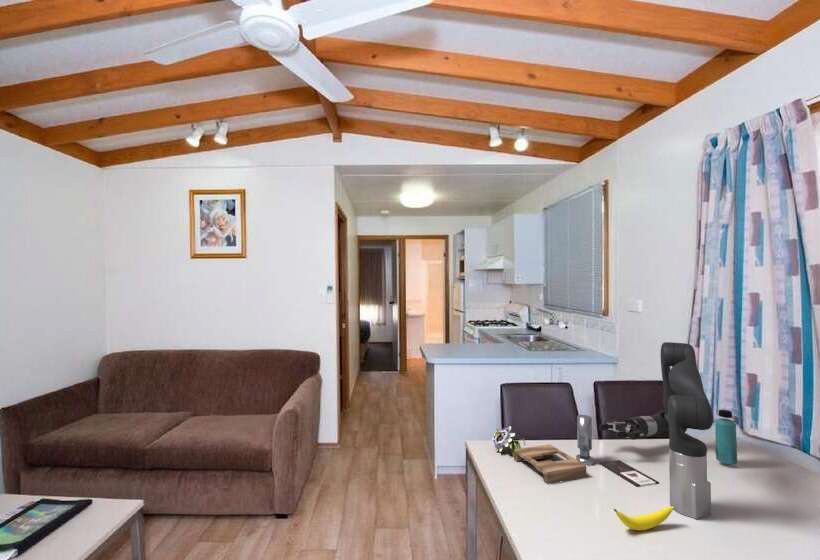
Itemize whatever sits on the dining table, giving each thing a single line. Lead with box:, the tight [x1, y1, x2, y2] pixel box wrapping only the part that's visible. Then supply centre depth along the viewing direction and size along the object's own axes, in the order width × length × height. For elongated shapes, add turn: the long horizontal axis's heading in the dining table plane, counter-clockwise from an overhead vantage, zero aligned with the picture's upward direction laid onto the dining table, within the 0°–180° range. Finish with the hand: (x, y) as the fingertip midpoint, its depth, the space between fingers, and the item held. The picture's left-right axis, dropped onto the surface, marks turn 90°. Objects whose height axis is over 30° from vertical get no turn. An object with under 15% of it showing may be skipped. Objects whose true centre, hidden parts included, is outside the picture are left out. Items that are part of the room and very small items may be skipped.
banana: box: [613, 506, 674, 531], centre depth 111 cm, size 3×19×6 cm, turn 102°
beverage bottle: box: [714, 409, 739, 466], centre depth 151 cm, size 6×7×20 cm
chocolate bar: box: [598, 459, 660, 488], centre depth 144 cm, size 9×1×18 cm
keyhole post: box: [575, 414, 595, 467], centre depth 153 cm, size 6×6×17 cm
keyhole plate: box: [513, 444, 587, 485], centre depth 148 cm, size 20×16×4 cm
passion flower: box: [491, 425, 527, 457], centre depth 163 cm, size 11×11×12 cm
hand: (608, 431), depth 157 cm, fingers open, 8 cm apart
